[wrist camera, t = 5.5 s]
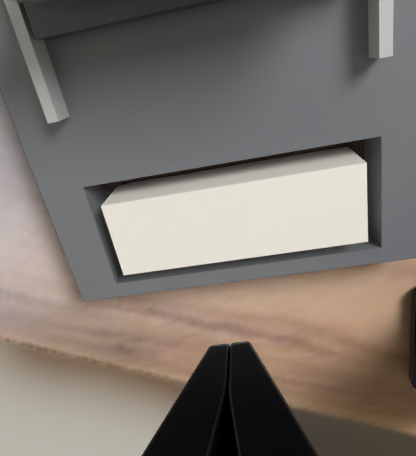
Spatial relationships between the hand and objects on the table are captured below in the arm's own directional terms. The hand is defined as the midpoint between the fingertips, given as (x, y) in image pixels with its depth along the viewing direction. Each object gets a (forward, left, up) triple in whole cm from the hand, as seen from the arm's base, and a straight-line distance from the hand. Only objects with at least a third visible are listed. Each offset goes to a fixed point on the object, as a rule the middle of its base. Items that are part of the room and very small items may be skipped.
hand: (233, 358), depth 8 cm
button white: (0, 0, -10) cm, 10 cm away
